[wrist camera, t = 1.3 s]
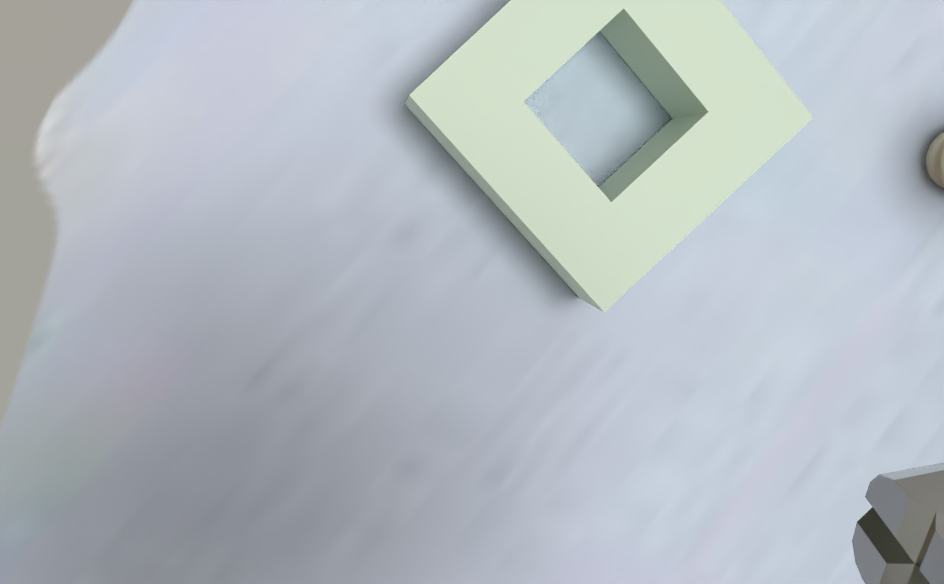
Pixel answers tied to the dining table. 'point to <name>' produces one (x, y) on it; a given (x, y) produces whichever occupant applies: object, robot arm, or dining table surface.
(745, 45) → the hole block
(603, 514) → the dining table surface
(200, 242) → the dining table surface
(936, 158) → the peg
